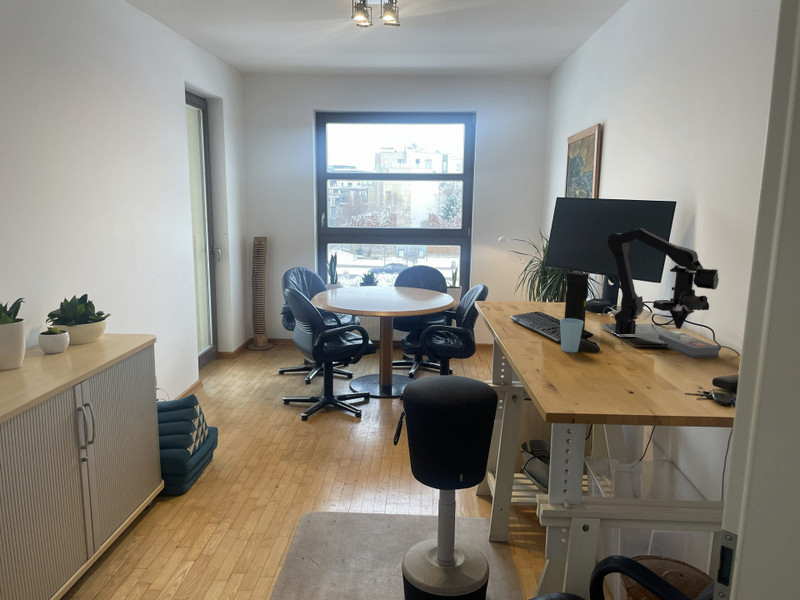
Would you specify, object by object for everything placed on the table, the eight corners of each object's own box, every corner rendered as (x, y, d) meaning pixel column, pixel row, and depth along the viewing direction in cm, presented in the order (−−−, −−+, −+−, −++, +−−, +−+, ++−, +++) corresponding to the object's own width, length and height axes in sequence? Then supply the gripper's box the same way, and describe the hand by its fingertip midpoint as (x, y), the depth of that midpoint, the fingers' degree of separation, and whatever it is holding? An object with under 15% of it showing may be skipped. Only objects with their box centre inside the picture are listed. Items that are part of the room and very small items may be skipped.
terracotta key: (697, 353, 194) (698, 345, 194) (690, 350, 198) (690, 343, 197) (706, 352, 195) (707, 345, 194) (699, 349, 198) (700, 342, 198)
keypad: (692, 358, 192) (693, 348, 191) (658, 343, 209) (659, 334, 209) (718, 357, 194) (719, 347, 193) (682, 343, 211) (683, 333, 211)
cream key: (686, 344, 199) (687, 337, 199) (679, 342, 203) (680, 335, 202) (695, 344, 200) (696, 337, 199) (688, 341, 203) (689, 334, 203)
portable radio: (587, 330, 228) (593, 267, 223) (580, 332, 224) (586, 268, 219) (569, 326, 233) (574, 265, 228) (562, 328, 229) (567, 266, 224)
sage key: (676, 340, 204) (677, 333, 204) (669, 338, 208) (670, 331, 207) (685, 340, 205) (686, 333, 205) (678, 337, 209) (679, 331, 208)
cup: (564, 353, 193) (567, 323, 192) (553, 347, 201) (556, 318, 199) (585, 353, 195) (587, 323, 193) (573, 347, 203) (576, 318, 201)
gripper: (675, 289, 193) (669, 335, 196) (723, 289, 197) (717, 333, 200) (654, 284, 204) (649, 327, 207) (700, 283, 208) (695, 326, 211)
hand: (678, 328), depth 206 cm, fingers closed
